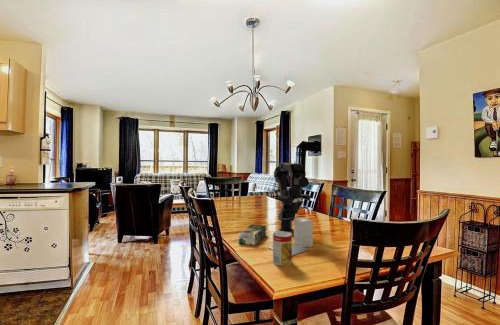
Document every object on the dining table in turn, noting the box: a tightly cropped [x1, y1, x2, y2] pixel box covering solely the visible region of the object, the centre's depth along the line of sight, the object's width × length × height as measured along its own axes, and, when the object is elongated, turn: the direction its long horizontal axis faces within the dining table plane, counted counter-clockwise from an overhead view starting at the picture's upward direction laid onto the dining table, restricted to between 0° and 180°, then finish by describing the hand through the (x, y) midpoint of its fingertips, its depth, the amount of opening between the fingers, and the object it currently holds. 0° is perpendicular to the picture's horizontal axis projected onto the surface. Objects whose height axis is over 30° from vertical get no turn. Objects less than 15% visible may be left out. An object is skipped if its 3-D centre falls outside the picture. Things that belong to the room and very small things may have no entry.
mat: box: [268, 243, 310, 257], centre depth 126 cm, size 13×14×1 cm
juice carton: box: [237, 224, 267, 246], centre depth 142 cm, size 20×10×6 cm, turn 160°
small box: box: [293, 216, 314, 248], centre depth 133 cm, size 8×6×13 cm
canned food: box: [272, 230, 293, 267], centre depth 110 cm, size 8×8×12 cm
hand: (295, 213), depth 147 cm, fingers closed
